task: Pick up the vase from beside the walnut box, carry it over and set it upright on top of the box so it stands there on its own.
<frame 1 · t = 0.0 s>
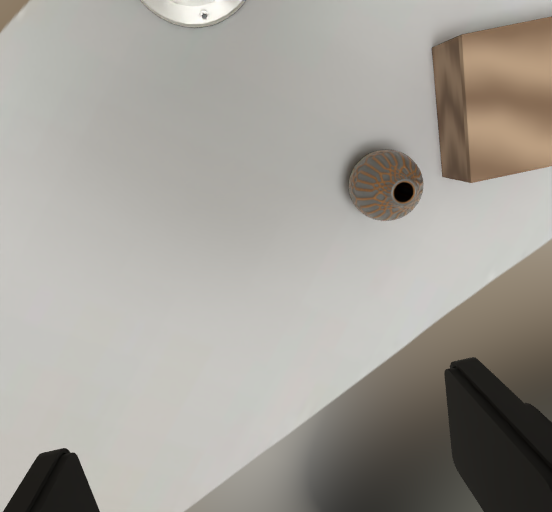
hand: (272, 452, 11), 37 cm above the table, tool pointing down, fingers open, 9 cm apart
vase: (373, 181, 47), on the table
walnut box: (497, 102, 45), on the table
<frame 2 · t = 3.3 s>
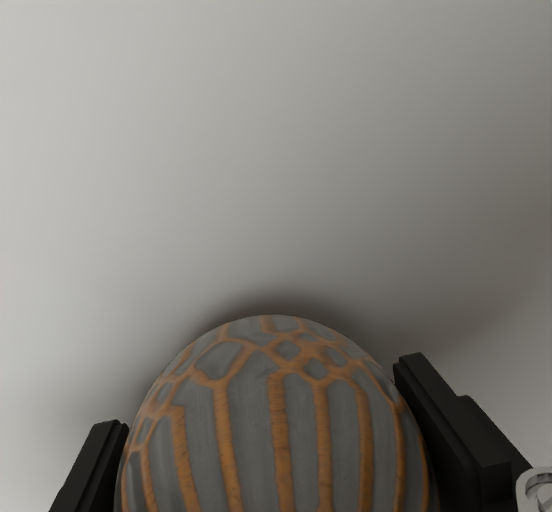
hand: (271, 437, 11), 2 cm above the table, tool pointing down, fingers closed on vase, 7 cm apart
vase: (265, 382, 14), on the table, touching gripper
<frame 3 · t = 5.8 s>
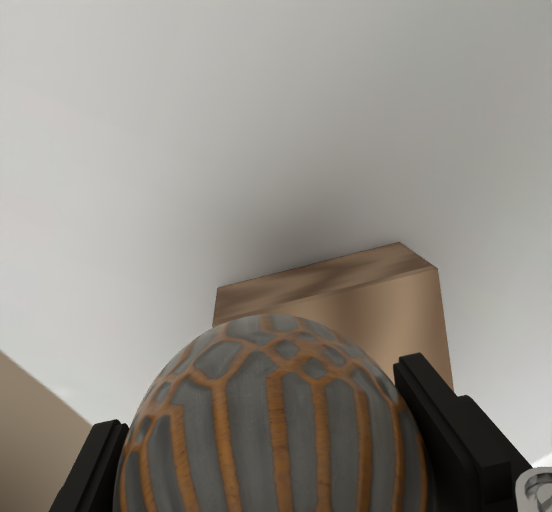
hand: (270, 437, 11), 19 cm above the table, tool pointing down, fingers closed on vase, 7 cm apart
vase: (264, 382, 14), point 16 cm above the table, touching gripper
walnut box: (327, 346, 32), on the table
when the fingers open (10 cm above the table, at t = 8.6 s): vase drops 1 cm, resting on walnut box.
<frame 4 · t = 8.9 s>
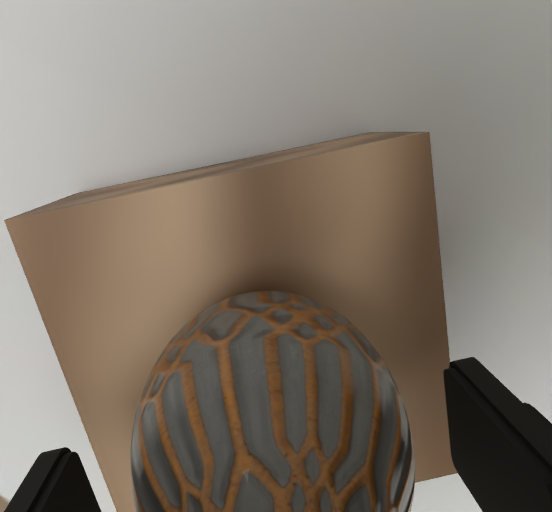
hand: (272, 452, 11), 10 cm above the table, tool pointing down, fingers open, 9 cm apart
vase: (262, 356, 15), point 6 cm above the table, touching walnut box
walnut box: (256, 299, 21), on the table
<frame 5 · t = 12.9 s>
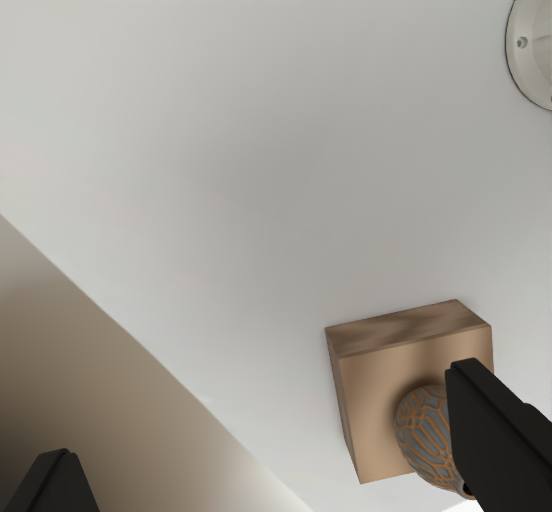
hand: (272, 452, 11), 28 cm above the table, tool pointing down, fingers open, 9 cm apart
vase: (422, 405, 38), point 6 cm above the table, touching walnut box
walnut box: (398, 372, 43), on the table
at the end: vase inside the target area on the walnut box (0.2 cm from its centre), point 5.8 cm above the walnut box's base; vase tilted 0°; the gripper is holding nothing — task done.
